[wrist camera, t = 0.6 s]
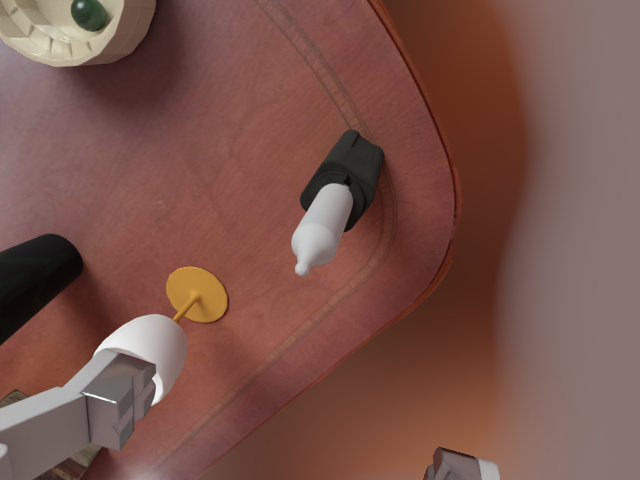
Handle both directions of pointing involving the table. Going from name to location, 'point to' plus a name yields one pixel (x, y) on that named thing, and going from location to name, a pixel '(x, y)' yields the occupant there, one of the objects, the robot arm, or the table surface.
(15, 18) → the bowl
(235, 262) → the table surface
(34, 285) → the cup
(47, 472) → the hardback book
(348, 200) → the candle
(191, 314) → the cup
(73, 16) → the bead
